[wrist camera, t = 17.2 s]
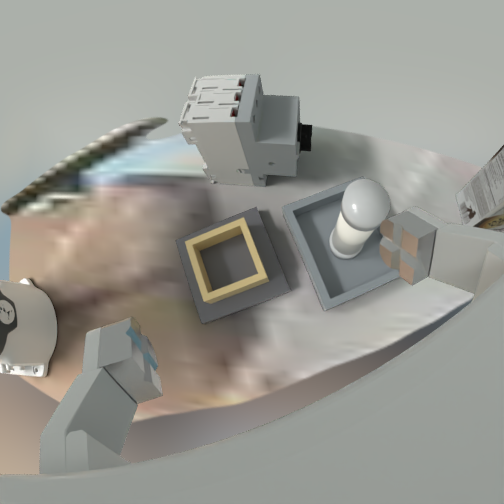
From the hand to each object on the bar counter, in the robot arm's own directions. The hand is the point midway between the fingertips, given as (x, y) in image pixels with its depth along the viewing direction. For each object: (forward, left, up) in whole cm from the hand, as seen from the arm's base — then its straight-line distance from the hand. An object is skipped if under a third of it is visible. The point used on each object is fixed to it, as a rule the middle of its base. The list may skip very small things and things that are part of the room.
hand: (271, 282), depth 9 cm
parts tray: (+10, +6, -30) cm, 33 cm away
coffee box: (+34, +2, -31) cm, 46 cm away
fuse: (+10, +6, -30) cm, 32 cm away
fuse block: (-5, +9, -30) cm, 32 cm away
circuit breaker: (+4, +22, -31) cm, 38 cm away
